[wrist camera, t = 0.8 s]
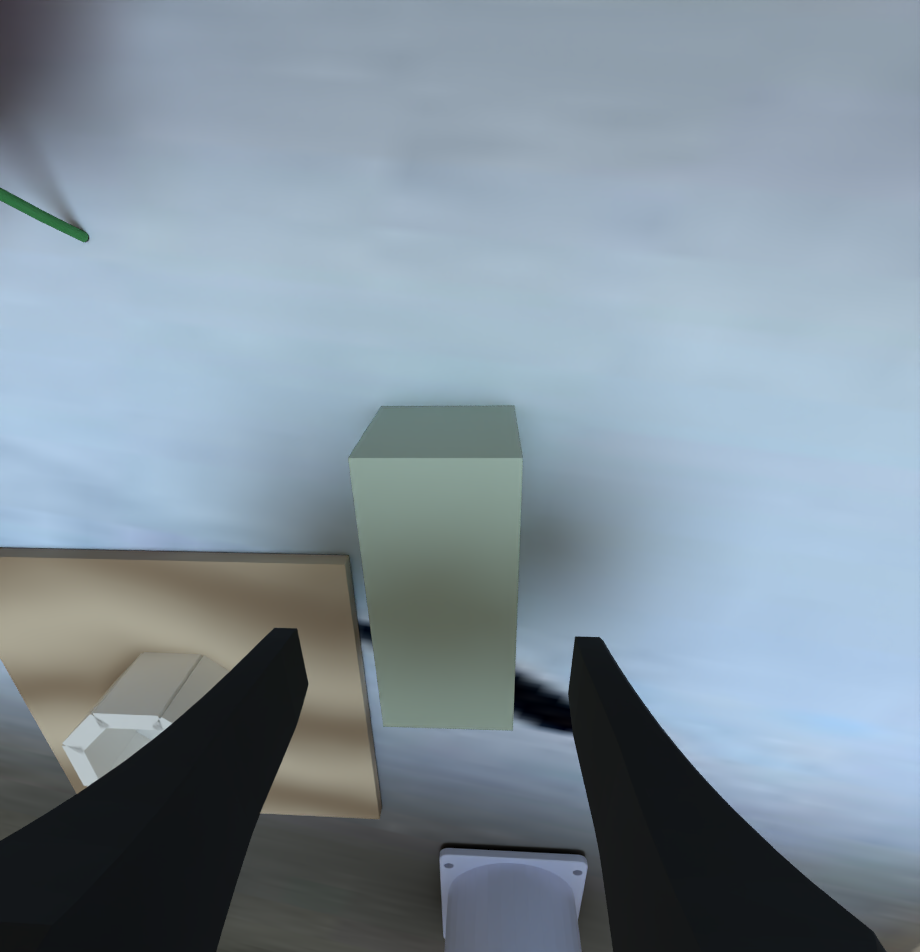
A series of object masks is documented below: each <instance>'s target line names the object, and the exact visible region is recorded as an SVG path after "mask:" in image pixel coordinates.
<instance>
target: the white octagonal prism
mask: <svg viewBox="0 0 920 952" xmlns="http://www.w3.org/2000/svg"><path fill="white" fill-rule="evenodd" d="M228 672H230V671H228V670H227V669H225V668H223V667H222V666H220V665H219V664H217V663H216V662H214V661H212V660H211V659H209V658H208V657H206V656H205V655H204V656H203V657H202V656H201V654H184V653H153V652H144V653H143V654H142V653H141V654H140V655H139V656H138V657H137V658H136V659H135V660H134V661H133V662H132V664H131V665H130V666H129V667H128V668H127V669H126V670H125V671H124V672H123V673H122V674H121V675H120V676H119V677H118V678H117V679H116V681H115V682H114V683H113V684H112V685H111V686H110V687H109V689H108V690H107V691H106V692H105V693H104V695H103V696H102V697H101V698H100V699H99V700H98V702H97V703H96V704H95V705H94V706H93V708H92V709H91V710H90V711H89V712H88V713H87V715H86V716H85V717H84V718H83V719H82V721H81V722H80V723H79V724H78V725H77V726H76V728H75V729H74V730H73V731H72V732H71V734H70V735H69V736H68V737H67V738H66V739H65V741H64V742H63V743H62V744H63V745H62V747H63V749H64V751H65V752H66V754H67V756H68V758H69V760H70V762H71V763H72V765H73V767H74V769H75V771H76V772H77V774H78V776H79V778H80V780H81V782H82V783H83V785H84V786H87V787H88V786H89V785H91V784H92V783H94V782H95V781H96V780H98V779H99V778H101V777H102V776H104V775H105V774H107V773H108V772H109V771H111V770H112V769H114V768H115V767H117V766H118V765H120V764H121V763H122V762H124V761H125V760H126V759H128V758H129V757H131V756H132V755H133V754H134V753H136V752H137V751H138V750H140V749H141V748H142V747H144V746H145V745H146V744H147V743H149V742H150V741H151V740H153V739H154V738H155V737H156V736H158V735H159V734H160V733H161V732H163V731H164V730H165V729H166V728H167V727H169V726H170V725H171V724H172V723H173V722H175V721H176V720H177V719H178V718H179V717H180V716H181V715H183V714H184V713H185V712H186V711H187V710H188V709H189V708H191V707H192V706H193V705H194V704H195V703H196V702H197V701H198V700H200V699H201V698H202V697H203V696H204V695H205V694H206V693H207V692H208V691H209V690H211V689H212V688H213V687H214V686H215V685H216V684H217V683H218V682H219V681H220V680H221V679H222V678H223V677H224V676H225V675H226V674H227V673H228Z"/></svg>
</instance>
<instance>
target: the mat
mask: <svg viewBox="0 0 920 952" xmlns="http://www.w3.org/2000/svg"><path fill="white" fill-rule="evenodd" d="M274 628H297V630H298V635H299V640H300V645H301V649H302V654H303V659H304V664H305V669H306V674H307V679H308V684H309V685H308V689H307V692H306V696H305V700H304V703H303V707H302V710H301V713H300V717H299V720H298V723H297V726H296V729H295V731H294V734H293V736H292V738H291V741H290V743H289V746H288V748H287V751H286V753H285V755H284V758H283V760H282V763H281V765H280V767H279V770H278V772H277V774H276V777H275V779H274V782H273V784H272V786H271V789H270V791H269V793H268V796H267V798H266V801H265V803H264V805H263V808H262V810H261V812H260V813H265V814H285V815H305V816H325V817H345V818H365V819H380V814H381V809H382V804H381V797H380V789H379V781H378V774H377V766H376V758H375V751H374V743H373V736H372V728H371V720H370V713H369V705H368V697H367V690H366V682H365V675H364V667H363V659H362V652H361V644H360V637H359V629H358V621H357V614H356V606H355V598H354V591H353V583H352V576H351V568H350V560H349V555H306V554H260V553H214V552H168V551H122V550H76V549H30V548H0V659H1V660H2V662H3V664H4V666H5V668H6V669H7V671H8V673H9V675H10V676H11V678H12V680H13V682H14V683H15V685H16V687H17V689H18V691H19V692H20V694H21V696H22V698H23V699H24V701H25V703H26V705H27V706H28V708H29V710H30V712H31V714H32V715H33V717H34V719H35V721H36V722H37V724H38V726H39V728H40V729H41V731H42V733H43V735H44V737H45V738H46V740H47V742H48V744H49V745H50V747H51V749H52V751H53V752H54V754H55V756H56V758H57V760H58V761H59V763H60V765H61V767H62V768H63V770H64V772H65V774H66V775H67V777H68V779H69V781H70V783H71V784H72V786H73V788H74V790H75V791H76V793H77V794H78V793H79V792H80V791H82V790H83V789H85V788H86V787H87V786H84V785H83V783H82V782H81V780H80V778H79V776H78V774H77V772H76V771H75V769H74V767H73V765H72V763H71V762H70V760H69V758H68V756H67V754H66V752H65V751H64V749H63V747H62V745H63V744H62V743H63V742H64V741H65V739H66V738H67V737H68V736H69V735H70V734H71V732H72V731H73V730H74V729H75V728H76V726H77V725H78V724H79V723H80V722H81V721H82V719H83V718H84V717H85V716H86V715H87V713H88V712H89V711H90V710H91V709H92V708H93V706H94V705H95V704H96V703H97V702H98V700H99V699H100V698H101V697H102V696H103V695H104V693H105V692H106V691H107V690H108V689H109V687H110V686H111V685H112V684H113V683H114V682H115V681H116V679H117V678H118V677H119V676H120V675H121V674H122V673H123V672H124V671H125V670H126V669H127V668H128V667H129V666H130V665H131V664H132V662H133V661H134V660H135V659H136V658H137V657H138V656H139V655H140V654H141V653H142V654H143V653H144V652H153V653H184V654H201V656H202V657H203V656H204V655H205V656H206V657H208V658H209V659H211V660H212V661H214V662H216V663H217V664H219V665H220V666H222V667H223V668H225V669H227V670H228V671H231V670H232V669H233V668H234V667H235V666H236V665H237V664H238V663H239V662H240V661H241V660H242V659H243V658H244V657H245V656H246V655H247V654H248V653H249V652H250V651H251V650H252V649H253V648H254V647H255V646H256V645H257V644H258V643H259V642H260V641H261V640H262V639H263V638H264V637H265V636H266V635H267V634H268V633H269V632H270V631H272V630H273V629H274Z"/></svg>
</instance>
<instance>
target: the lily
mask: <svg viewBox="0 0 920 952" xmlns="http://www.w3.org/2000/svg"><path fill="white" fill-rule="evenodd" d="M0 201H2V202H4V203H6V204H8V205H10V206H12V207H14V208H16V209H18V210H20V211H21V212H23V213H25V214H27V215H29V216H31V217H33V218H35V219H37V220H39V221H41V222H43V223H45V224H47V225H49V226H51V227H53V228H55V229H57V230H59V231H61V232H63V233H65V234H68V235H70V236H72V237H74V238H76V239H78V240H80V241H82V242H86V241H87V240H88V234H87V233H86V232H84V231H82V230H80V229H78V228H76V227H74V226H72V225H70V224H68V223H66V222H64V221H62V220H60V219H58V218H56V217H54V216H52V215H50V214H49V213H47V212H45V211H43V210H41V209H39V208H37V207H35V206H33V205H31V204H30V203H28V202H26V201H24V200H22V199H20V198H19V197H17V196H15V195H13V194H11V193H9V192H7V191H6V190H4V189H2V188H0Z"/></svg>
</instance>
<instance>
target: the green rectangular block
mask: <svg viewBox="0 0 920 952" xmlns="http://www.w3.org/2000/svg"><path fill="white" fill-rule="evenodd" d="M348 461H349V469H350V476H351V484H352V492H353V499H354V507H355V514H356V522H357V530H358V537H359V545H360V552H361V560H362V568H363V575H364V583H365V590H366V598H367V606H368V613H369V621H370V628H371V636H372V644H373V651H374V659H375V666H376V674H377V682H378V689H379V697H380V704H381V712H382V720H383V727H412V728H445V729H478V730H510V731H513V712H514V684H515V657H516V630H517V603H518V575H519V548H520V521H521V494H522V466H523V456H522V450H521V444H520V438H519V432H518V426H517V419H516V413H515V407H514V406H381V408H380V409H379V411H378V412H377V414H376V415H375V417H374V418H373V420H372V422H371V423H370V425H369V426H368V428H367V429H366V431H365V432H364V434H363V436H362V437H361V439H360V440H359V442H358V443H357V445H356V446H355V448H354V450H353V451H352V453H351V454H350V456H349V457H348Z"/></svg>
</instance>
